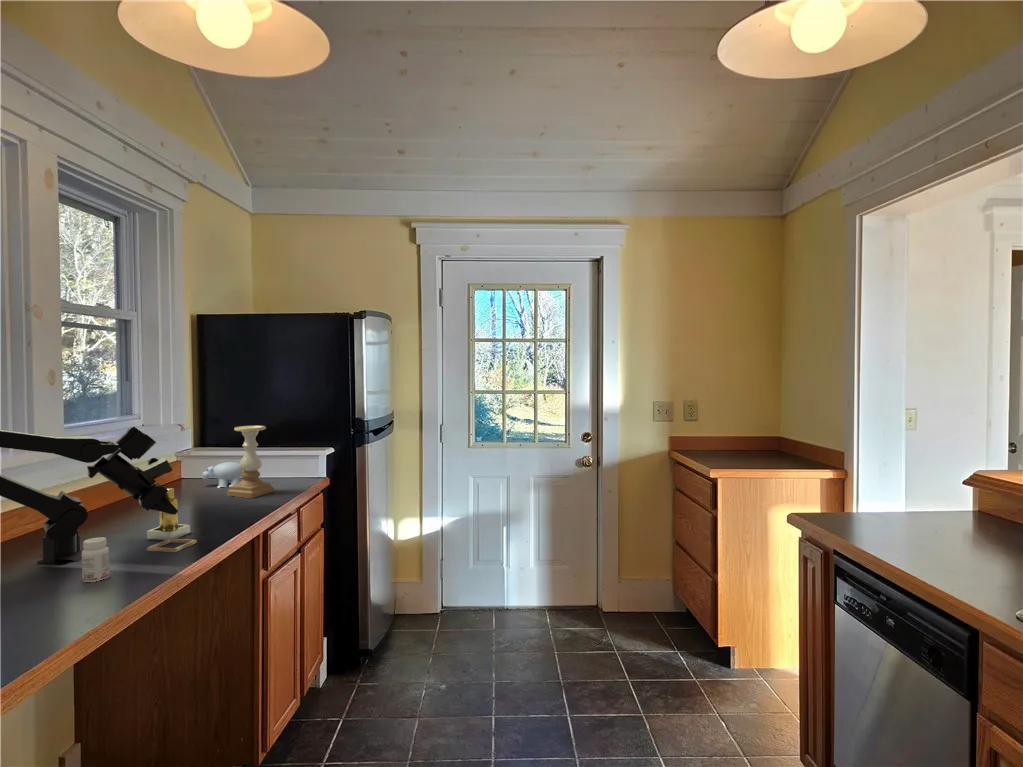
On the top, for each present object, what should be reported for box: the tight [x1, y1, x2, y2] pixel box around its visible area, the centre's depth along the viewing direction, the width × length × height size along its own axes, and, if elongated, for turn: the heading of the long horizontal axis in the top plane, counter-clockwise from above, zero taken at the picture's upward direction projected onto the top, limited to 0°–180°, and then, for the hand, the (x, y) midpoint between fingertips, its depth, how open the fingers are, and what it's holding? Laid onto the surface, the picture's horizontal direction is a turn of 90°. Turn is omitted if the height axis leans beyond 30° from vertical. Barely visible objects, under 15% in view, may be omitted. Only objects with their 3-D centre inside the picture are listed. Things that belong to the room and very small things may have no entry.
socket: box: [146, 523, 192, 541], centre depth 149 cm, size 7×7×4 cm
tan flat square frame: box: [146, 538, 198, 553], centre depth 140 cm, size 8×8×2 cm
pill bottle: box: [81, 536, 111, 583], centre depth 123 cm, size 5×5×8 cm
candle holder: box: [226, 425, 275, 499], centre depth 204 cm, size 11×11×24 cm
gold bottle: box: [159, 487, 179, 531], centre depth 149 cm, size 4×4×12 cm
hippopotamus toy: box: [201, 461, 244, 489], centre depth 219 cm, size 11×15×10 cm
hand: (174, 511), depth 150 cm, fingers closed on gold bottle, 4 cm apart
